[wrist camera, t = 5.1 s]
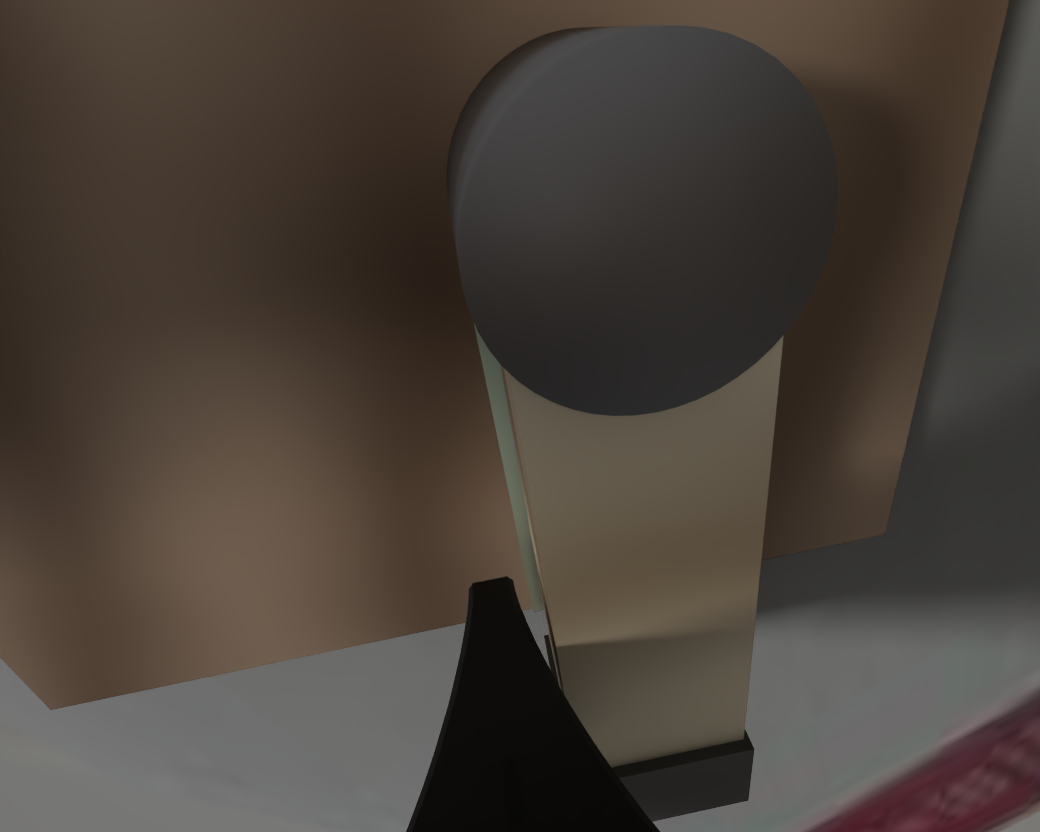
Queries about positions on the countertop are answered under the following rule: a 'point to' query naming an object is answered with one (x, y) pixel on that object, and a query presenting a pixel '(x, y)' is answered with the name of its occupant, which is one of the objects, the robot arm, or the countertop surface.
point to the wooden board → (372, 314)
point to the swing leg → (645, 362)
